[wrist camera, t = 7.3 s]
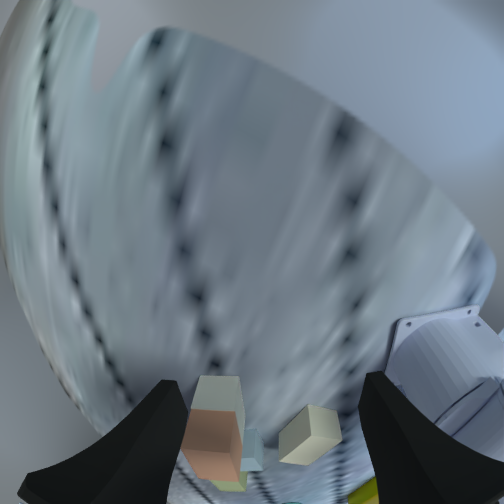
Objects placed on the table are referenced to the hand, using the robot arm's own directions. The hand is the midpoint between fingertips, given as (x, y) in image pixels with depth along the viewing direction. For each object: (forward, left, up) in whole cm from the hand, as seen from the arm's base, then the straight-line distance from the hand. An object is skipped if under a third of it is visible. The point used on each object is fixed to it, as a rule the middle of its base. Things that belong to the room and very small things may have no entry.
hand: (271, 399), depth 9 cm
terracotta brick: (+5, +12, -6) cm, 15 cm away
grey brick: (+5, +12, -10) cm, 17 cm away
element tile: (-22, +45, -11) cm, 51 cm away
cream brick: (-3, +17, -11) cm, 20 cm away
